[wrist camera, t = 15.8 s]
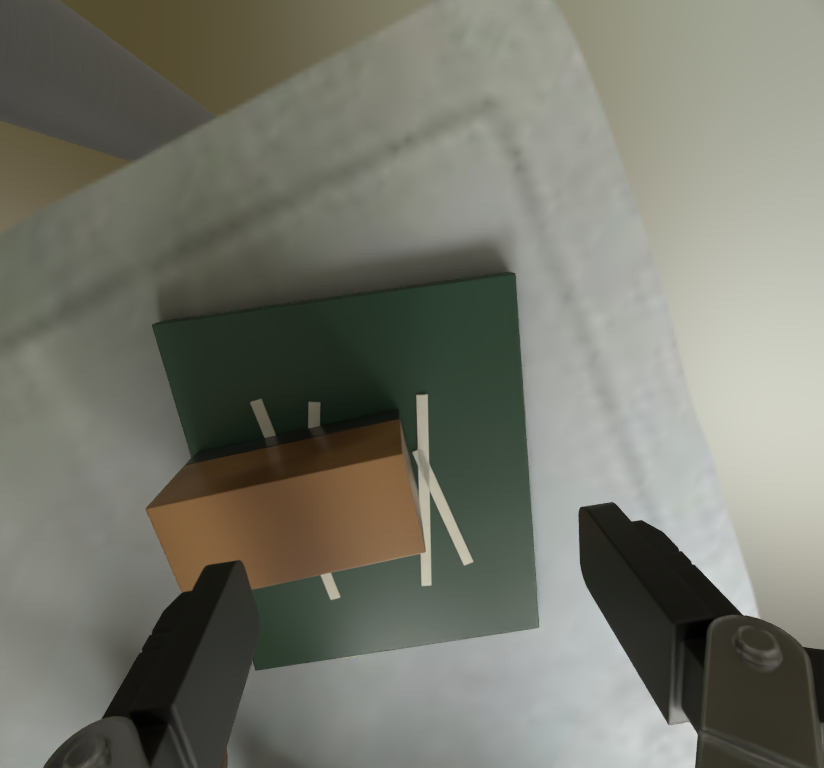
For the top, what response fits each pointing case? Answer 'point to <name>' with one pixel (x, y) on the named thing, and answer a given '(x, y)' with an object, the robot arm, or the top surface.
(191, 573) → the eraser
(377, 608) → the slate board
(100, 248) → the top surface
